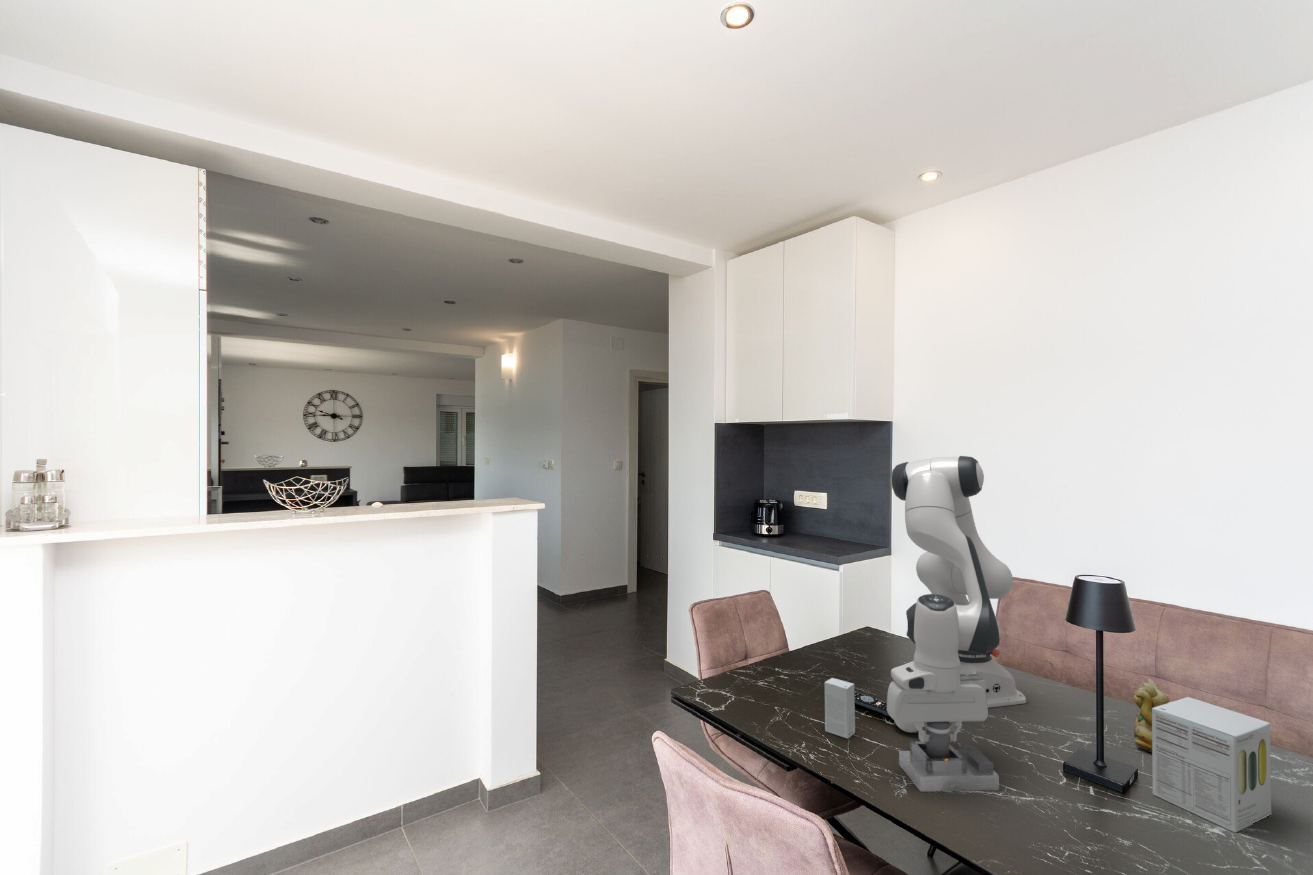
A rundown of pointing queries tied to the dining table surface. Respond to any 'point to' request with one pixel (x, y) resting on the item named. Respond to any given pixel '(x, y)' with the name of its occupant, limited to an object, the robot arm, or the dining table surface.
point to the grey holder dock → (949, 769)
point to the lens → (937, 739)
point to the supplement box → (1212, 762)
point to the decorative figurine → (1147, 712)
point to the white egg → (907, 726)
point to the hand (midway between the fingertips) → (937, 740)
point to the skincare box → (839, 708)
